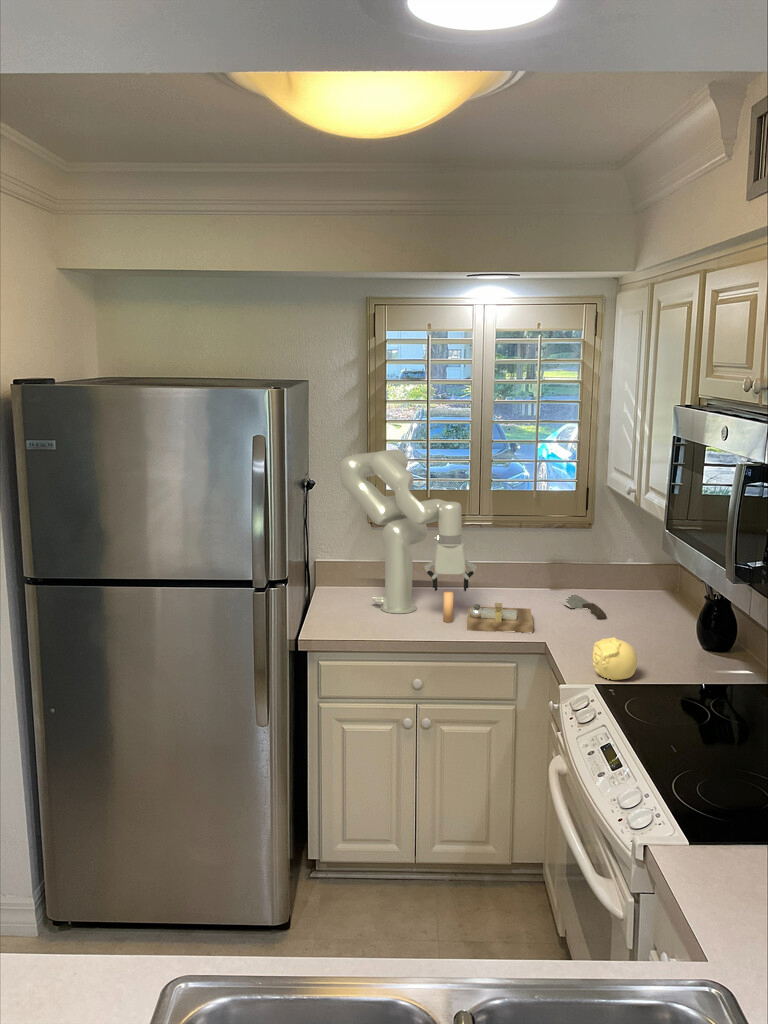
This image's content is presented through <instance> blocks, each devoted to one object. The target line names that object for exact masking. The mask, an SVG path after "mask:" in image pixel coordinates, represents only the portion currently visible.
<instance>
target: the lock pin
mask: <svg viewBox="0 0 768 1024" xmlns="http://www.w3.org/2000/svg"><path fill="white" fill-rule="evenodd" d="M442 613H443V615H442V616H443V617H442V618H443V619H442V620H443V621H442V622H443V623H447V624H450V623H451V624H452V623H453V622H454V592H453V591H452V590H451V591H450V590H447V591H443V612H442Z"/></svg>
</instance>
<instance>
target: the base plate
mask: <svg viewBox="0 0 768 1024" xmlns="http://www.w3.org/2000/svg"><path fill="white" fill-rule="evenodd" d="M472 607H474V609H480V608H489V609H495V606H481V605H480V604H478V603H477V604H473V605H472V606H471V605H470V606H468V608H467V616H466V617H467V618H466V631H474V632H475V631H477V632H478V631H479V632H496V631H515V632H514V633H519V632H533V631H534V630H533V629H534V622H533V617H532V616H533V615H532V608H523V607H522V608H521V607H520V608H519V607H502V609H504V610H517V619H516V620H507V619H501V622H495V619H492V618H473V617H470V608H472Z"/></svg>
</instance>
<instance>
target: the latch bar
mask: <svg viewBox="0 0 768 1024" xmlns="http://www.w3.org/2000/svg"><path fill="white" fill-rule="evenodd" d="M470 617H473V618H492V619H495V609H489V608H480V609H474V607H472V608H470ZM502 619H507V620H516V619H517V610H504V609H502Z"/></svg>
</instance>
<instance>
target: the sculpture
mask: <svg viewBox="0 0 768 1024" xmlns="http://www.w3.org/2000/svg"><path fill="white" fill-rule="evenodd" d="M592 648H593V651H592V661H593V662H592V666H593V668H594V670H595V671H596V673H597V674H598V675H599V676H601V677H602V678H603V677H604V679H605V678H607V679H606V680H609V679H611V680H610V681H620V680H626V679H629V678H631V677H633V675H634V674H635V673H636V670H637V667H638V656H637V653H636V650H635V649H634V647H633V646H632V645H631V644H629V643H628V642H626V641H624V640H621V639H617V638H616V637H614V636H613V637H608V638H601V639H600V640H598V641H596V642H594V644H593V647H592Z"/></svg>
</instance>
